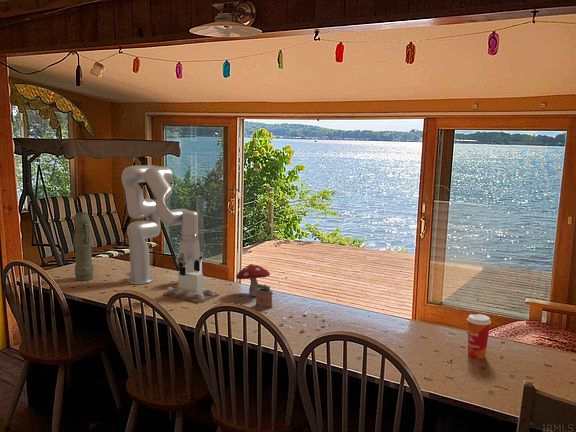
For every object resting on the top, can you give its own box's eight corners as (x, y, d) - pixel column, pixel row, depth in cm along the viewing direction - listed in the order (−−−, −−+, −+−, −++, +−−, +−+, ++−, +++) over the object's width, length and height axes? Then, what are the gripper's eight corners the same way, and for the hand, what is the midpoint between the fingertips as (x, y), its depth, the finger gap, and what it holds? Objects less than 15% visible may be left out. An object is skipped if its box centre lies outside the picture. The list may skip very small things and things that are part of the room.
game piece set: (321, 335, 191) (321, 325, 190) (272, 328, 198) (272, 318, 197) (334, 318, 209) (334, 310, 208) (289, 312, 216) (289, 304, 215)
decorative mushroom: (231, 298, 233) (231, 267, 231) (243, 289, 249) (243, 259, 246) (263, 301, 229) (263, 269, 227) (273, 291, 244) (274, 262, 242)
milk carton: (202, 281, 262) (201, 245, 259) (198, 284, 255) (197, 248, 252) (188, 280, 263) (188, 245, 260) (184, 284, 256) (184, 247, 253)
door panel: (178, 292, 238) (178, 271, 237) (185, 290, 242) (184, 269, 241) (197, 296, 232) (197, 275, 231) (203, 294, 236) (203, 273, 234)
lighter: (273, 306, 222) (273, 285, 221) (270, 309, 219) (270, 287, 218) (257, 304, 226) (257, 282, 224) (254, 306, 222) (254, 284, 221)
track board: (163, 295, 237) (163, 288, 237) (184, 288, 249) (184, 282, 248) (198, 303, 226) (198, 296, 225) (218, 295, 237) (218, 289, 237)
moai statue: (85, 275, 270) (83, 211, 265) (98, 278, 263) (95, 213, 258) (70, 278, 263) (67, 212, 258) (83, 282, 256) (79, 215, 251)
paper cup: (461, 351, 177) (463, 313, 175) (481, 351, 177) (484, 313, 175) (470, 361, 169) (473, 321, 167) (492, 360, 170) (495, 321, 167)
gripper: (196, 233, 242) (196, 267, 245) (170, 239, 228) (170, 275, 231) (208, 235, 239) (208, 270, 241) (182, 241, 224) (182, 278, 227)
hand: (189, 272), depth 236 cm, fingers open, 9 cm apart
